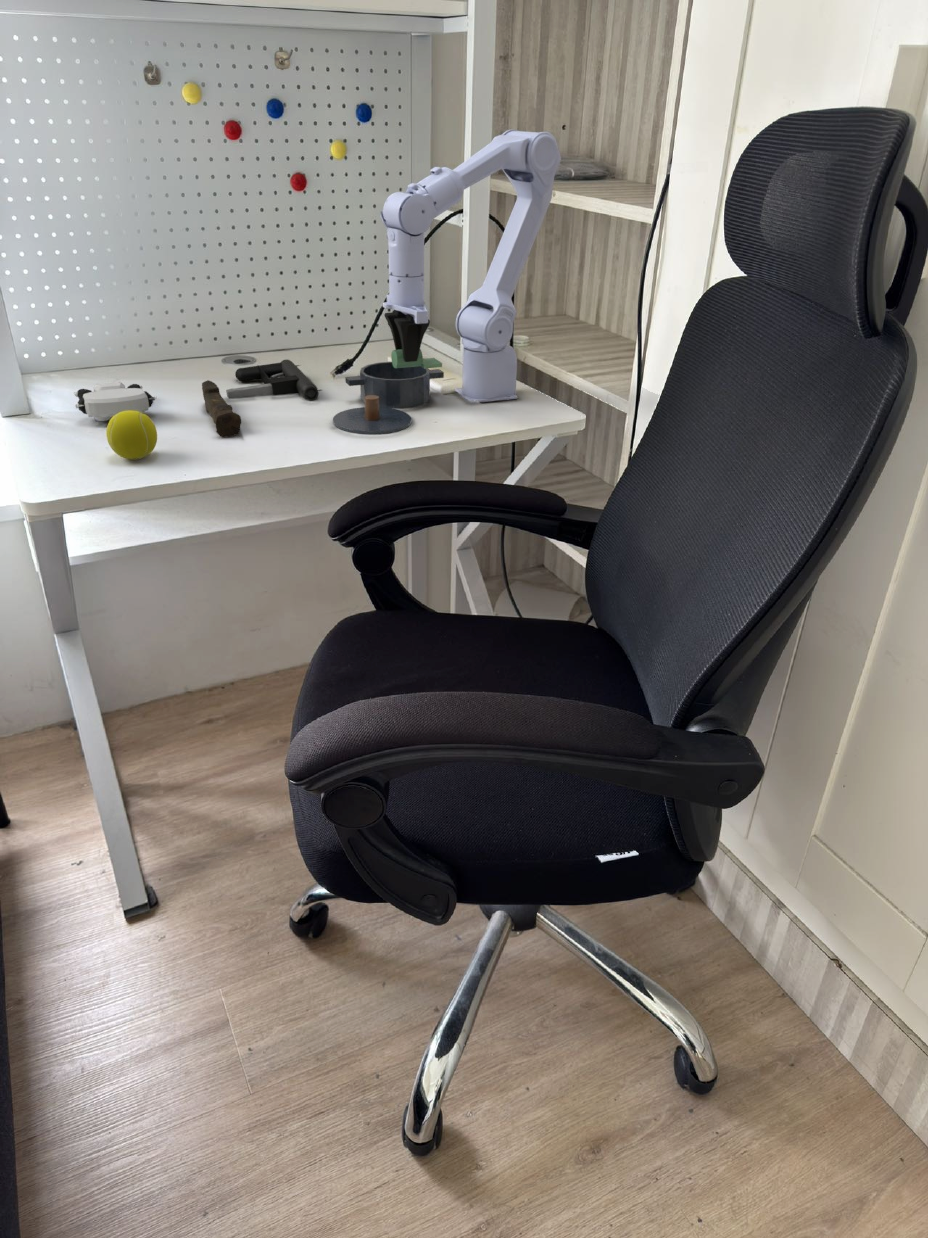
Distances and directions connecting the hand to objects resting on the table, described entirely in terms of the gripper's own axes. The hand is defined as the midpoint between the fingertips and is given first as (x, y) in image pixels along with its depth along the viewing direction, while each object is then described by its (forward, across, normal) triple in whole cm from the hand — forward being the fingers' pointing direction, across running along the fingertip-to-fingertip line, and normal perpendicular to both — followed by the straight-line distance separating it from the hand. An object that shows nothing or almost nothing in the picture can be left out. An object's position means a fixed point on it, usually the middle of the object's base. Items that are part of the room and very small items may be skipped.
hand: (407, 358), depth 155 cm
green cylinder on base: (+1, 0, +2) cm, 2 cm away
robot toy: (+9, -14, -47) cm, 50 cm away
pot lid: (+8, +6, -8) cm, 13 cm away
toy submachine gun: (+9, -19, -20) cm, 29 cm away
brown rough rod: (+9, -5, -32) cm, 34 cm away
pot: (+9, -6, 0) cm, 10 cm away
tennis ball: (+9, +9, -46) cm, 48 cm away
